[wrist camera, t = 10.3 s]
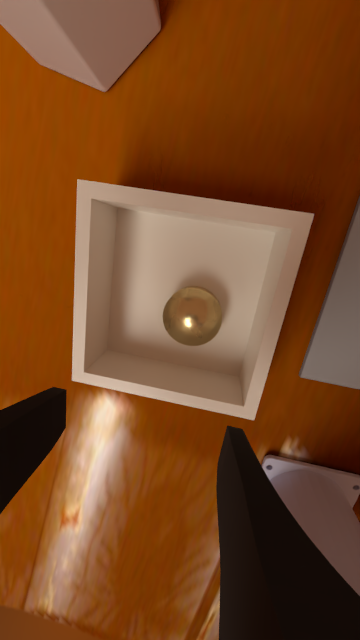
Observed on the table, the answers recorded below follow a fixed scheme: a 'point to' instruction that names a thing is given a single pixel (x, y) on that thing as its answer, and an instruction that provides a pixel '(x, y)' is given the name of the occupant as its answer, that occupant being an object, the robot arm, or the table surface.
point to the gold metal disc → (192, 316)
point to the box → (172, 275)
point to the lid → (339, 320)
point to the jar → (83, 34)
